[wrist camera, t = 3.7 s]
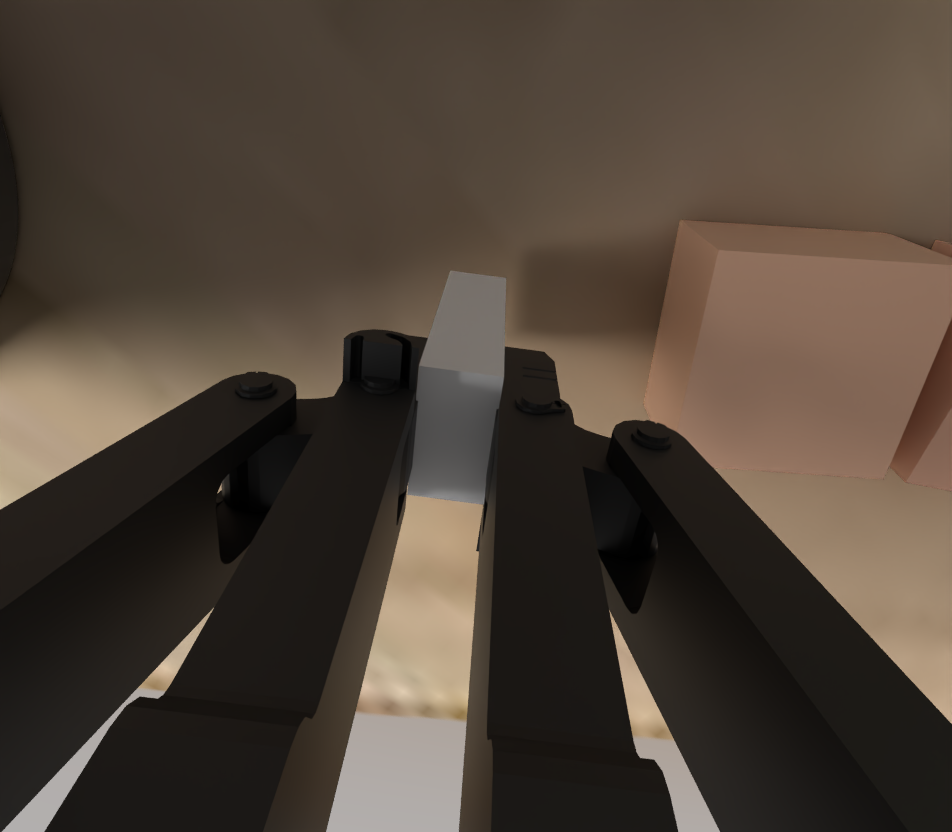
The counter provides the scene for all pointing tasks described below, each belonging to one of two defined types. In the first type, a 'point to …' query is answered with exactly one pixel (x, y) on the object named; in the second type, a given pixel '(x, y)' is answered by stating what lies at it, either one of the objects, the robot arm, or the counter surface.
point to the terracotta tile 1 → (796, 345)
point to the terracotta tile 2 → (930, 420)
